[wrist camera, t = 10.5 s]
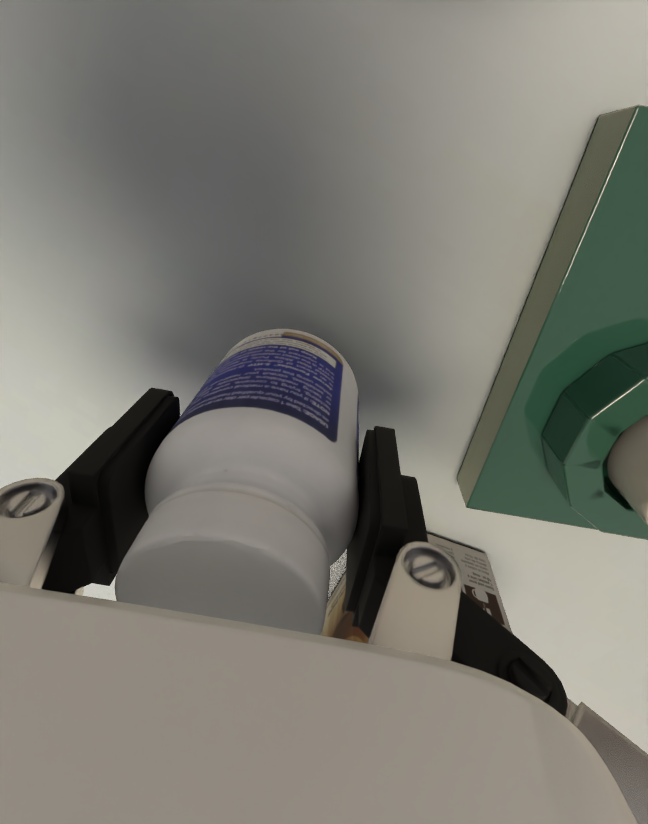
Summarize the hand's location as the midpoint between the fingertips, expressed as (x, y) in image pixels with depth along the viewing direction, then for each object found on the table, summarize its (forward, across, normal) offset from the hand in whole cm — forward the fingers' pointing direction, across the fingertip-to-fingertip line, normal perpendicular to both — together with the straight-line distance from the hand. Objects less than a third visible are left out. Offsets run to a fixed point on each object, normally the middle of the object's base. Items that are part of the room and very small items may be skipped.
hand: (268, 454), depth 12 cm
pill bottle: (+4, 0, 0) cm, 4 cm away
